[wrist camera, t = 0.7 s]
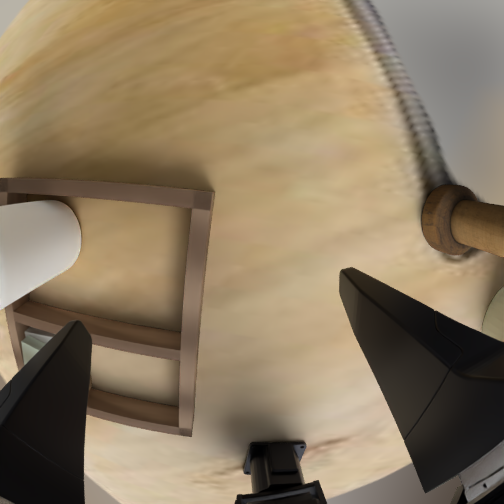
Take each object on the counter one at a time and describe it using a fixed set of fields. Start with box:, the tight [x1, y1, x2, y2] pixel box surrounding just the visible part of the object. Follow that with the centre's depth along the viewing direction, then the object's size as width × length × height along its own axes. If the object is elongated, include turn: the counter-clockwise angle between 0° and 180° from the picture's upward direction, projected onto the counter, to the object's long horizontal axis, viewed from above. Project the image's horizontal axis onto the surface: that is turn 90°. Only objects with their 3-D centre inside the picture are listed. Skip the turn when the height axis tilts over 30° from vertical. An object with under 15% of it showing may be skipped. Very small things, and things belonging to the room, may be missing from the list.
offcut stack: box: [21, 327, 92, 390], centre depth 22 cm, size 7×6×4 cm
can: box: [0, 200, 81, 310], centre depth 16 cm, size 6×6×12 cm
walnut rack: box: [0, 178, 215, 437], centre depth 22 cm, size 22×19×3 cm
